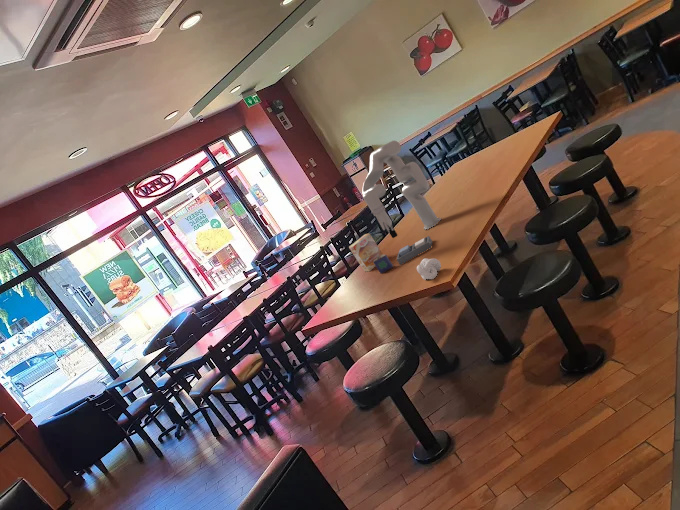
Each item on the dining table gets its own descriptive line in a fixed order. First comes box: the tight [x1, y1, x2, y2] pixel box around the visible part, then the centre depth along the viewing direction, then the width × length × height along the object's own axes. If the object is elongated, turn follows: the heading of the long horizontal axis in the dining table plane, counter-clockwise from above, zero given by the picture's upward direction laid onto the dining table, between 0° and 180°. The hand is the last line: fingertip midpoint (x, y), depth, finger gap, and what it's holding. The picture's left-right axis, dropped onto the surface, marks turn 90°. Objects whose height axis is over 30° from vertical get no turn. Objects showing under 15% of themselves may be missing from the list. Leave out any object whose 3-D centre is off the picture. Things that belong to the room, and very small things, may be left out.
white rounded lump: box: [416, 257, 442, 281], centre depth 250 cm, size 11×12×9 cm
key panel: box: [396, 235, 433, 266], centre depth 300 cm, size 12×21×4 cm, turn 76°
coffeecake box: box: [348, 233, 384, 272], centre depth 330 cm, size 15×7×20 cm, turn 117°
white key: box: [414, 237, 427, 248], centre depth 298 cm, size 6×6×3 cm
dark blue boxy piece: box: [373, 254, 394, 275], centre depth 305 cm, size 9×3×11 cm, turn 74°
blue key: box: [398, 244, 411, 257], centre depth 302 cm, size 6×6×3 cm
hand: (395, 236), depth 299 cm, fingers closed
